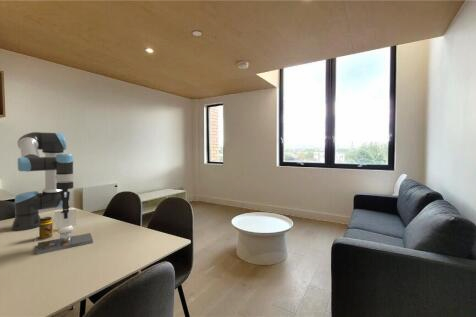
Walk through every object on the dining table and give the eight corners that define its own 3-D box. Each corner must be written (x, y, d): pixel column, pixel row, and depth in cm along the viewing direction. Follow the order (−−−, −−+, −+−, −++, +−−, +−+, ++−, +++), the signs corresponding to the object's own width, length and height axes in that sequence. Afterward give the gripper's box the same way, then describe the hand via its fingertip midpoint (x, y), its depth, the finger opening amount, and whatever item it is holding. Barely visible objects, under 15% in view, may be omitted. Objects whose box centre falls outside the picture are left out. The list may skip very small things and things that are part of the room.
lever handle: (75, 227, 131) (75, 207, 131) (76, 231, 126) (75, 209, 126) (53, 231, 125) (52, 209, 125) (52, 235, 120) (52, 212, 119)
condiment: (52, 238, 134) (52, 218, 134) (33, 241, 129) (33, 220, 129) (54, 234, 140) (53, 215, 140) (36, 237, 136) (35, 217, 135)
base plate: (38, 245, 124) (38, 232, 124) (90, 235, 139) (90, 224, 139) (36, 254, 113) (36, 240, 113) (92, 242, 128) (92, 230, 128)
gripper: (56, 180, 131) (57, 218, 132) (56, 184, 114) (56, 228, 115) (72, 179, 136) (73, 216, 136) (74, 183, 119) (75, 225, 120)
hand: (65, 222), depth 126 cm, fingers open, 9 cm apart
